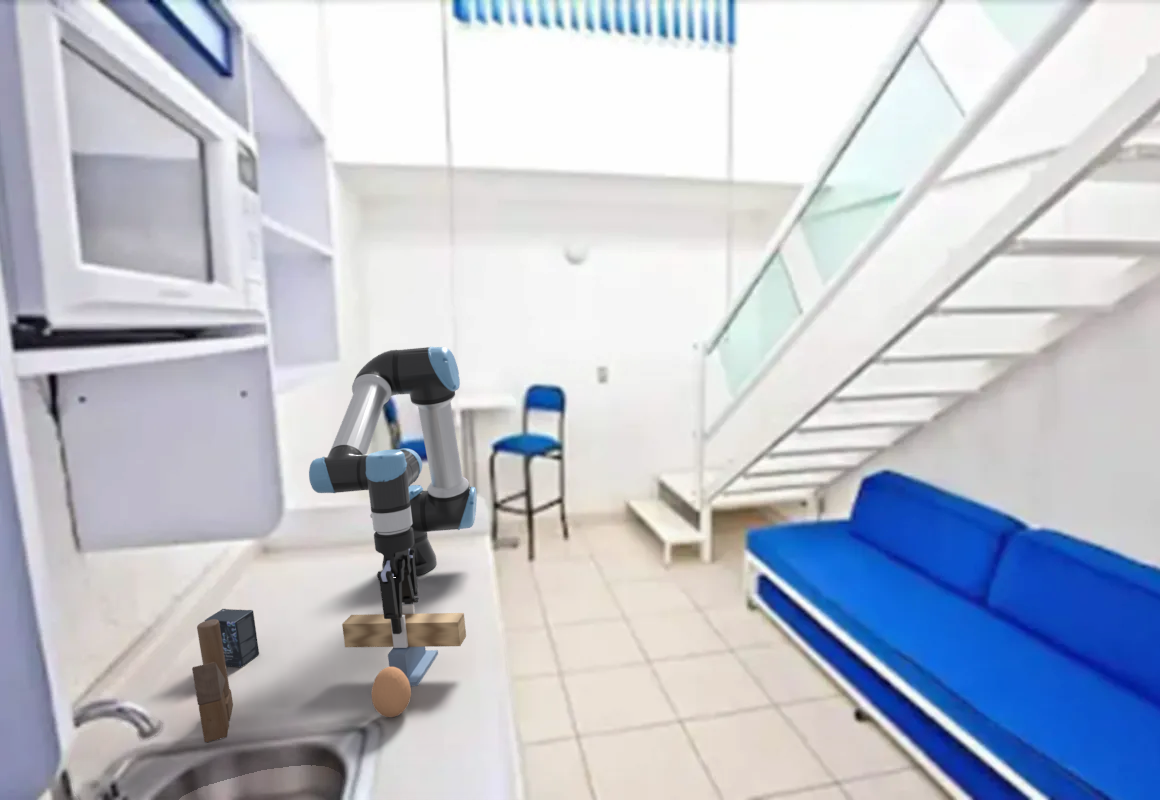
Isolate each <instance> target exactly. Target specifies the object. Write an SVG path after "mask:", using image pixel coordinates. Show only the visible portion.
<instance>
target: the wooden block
mask: <svg viewBox="0 0 1160 800" xmlns="http://www.w3.org/2000/svg"><path fill="white" fill-rule="evenodd" d="M196 630H197V636H198V641H199V643H198V644H199V650H200V655H201V661H202V662H201V663H202V664H200V665H197V666H193V667H192V669H191V670H192V676H193V682H194V683H193V684H194V689H195V694H196V702H197V705H198V711H199V712H198V713H199V717H200V723H201V729H202V734H203V735H202V736H203V741H204V743H205V742H207V743H210V742H209V741H211V742H213V741H212V740H214V741H217V739H218V740H220V738H222V739H225V738H227V737H228V733H229V730H230V723H229V721H231V718H232V714H233V713H232V712H233V707H234V702H233V695H232V689H231V688H230V685H229V684H230V683H229V682H230V681H229V678H228V677H229V676H228V671H227V666H226V663H225V657H224V650H223V644H222V637H221V631H220V625H219V621H218V620H217V619H211V620H207V621H205V620H204V621H201V622H199V624H198V625H197V626H196Z"/></svg>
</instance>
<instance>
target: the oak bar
mask: <svg viewBox="0 0 1160 800" xmlns="http://www.w3.org/2000/svg"><path fill="white" fill-rule="evenodd" d="M402 615H405V622H406V631H407V639H408V647H425V648H426V647H427V648H428V647H440V648H441V647H461V645H462V644H463V642H464V641H465V639H466V637H467V632H466V631H467V630H466V629H467V628H466V621H465V620H466V619H465V613H464V612H444V613H443V612H442V613H441V612H439V613H437V612H432V613H429V612H428V613H415V614H402ZM341 626H342V634H343V642H344V648H393V647H394V646H393V637H392V629H391V620H390V619H384V613H383V614H381V613H378V614H376V613H375V614H373V613H372V614H369V613H368V614H350V616H349V617H347V619H345V621H343V622H342V624H341Z"/></svg>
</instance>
